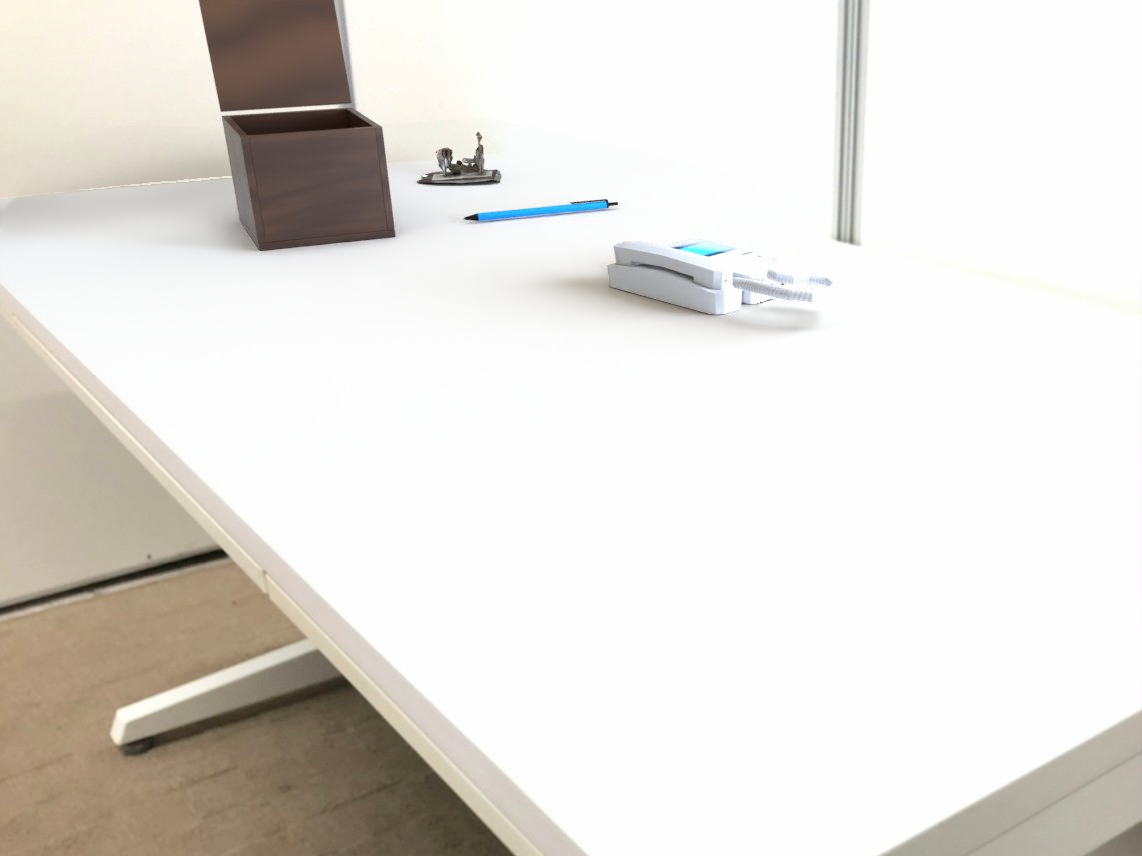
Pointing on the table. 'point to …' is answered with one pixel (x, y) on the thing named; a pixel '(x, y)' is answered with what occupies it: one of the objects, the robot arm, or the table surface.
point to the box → (309, 177)
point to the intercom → (714, 275)
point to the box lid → (275, 53)
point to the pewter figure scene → (461, 168)
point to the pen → (542, 210)
